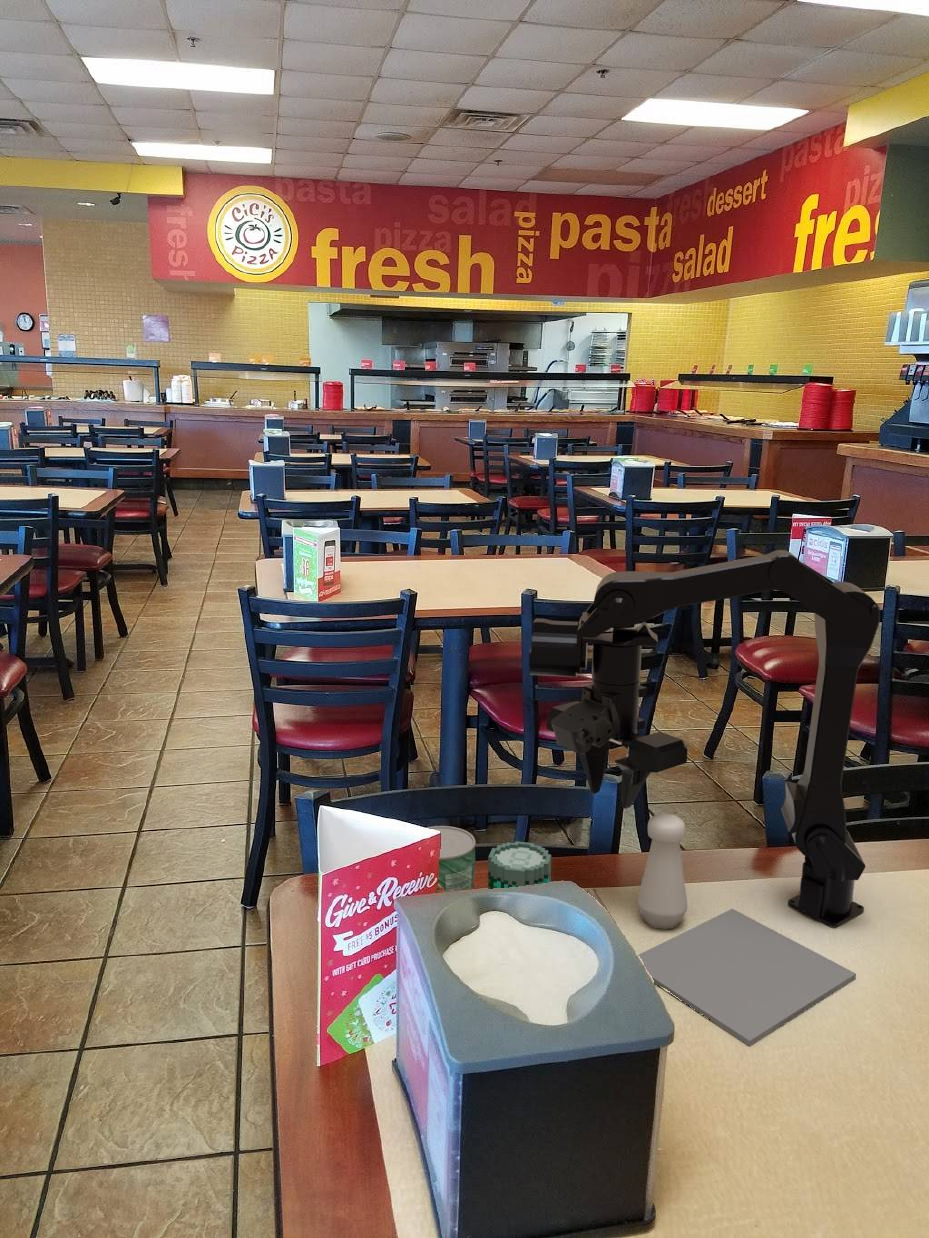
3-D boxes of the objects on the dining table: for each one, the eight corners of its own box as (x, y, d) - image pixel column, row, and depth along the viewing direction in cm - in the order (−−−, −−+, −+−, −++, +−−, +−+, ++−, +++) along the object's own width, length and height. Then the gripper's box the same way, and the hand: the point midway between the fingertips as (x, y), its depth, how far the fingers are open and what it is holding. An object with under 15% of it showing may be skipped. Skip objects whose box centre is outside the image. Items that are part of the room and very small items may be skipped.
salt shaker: (687, 936, 104) (693, 831, 101) (636, 930, 105) (641, 827, 103) (685, 909, 110) (691, 809, 107) (637, 904, 111) (642, 805, 108)
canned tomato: (486, 919, 108) (487, 833, 105) (457, 953, 101) (456, 863, 99) (427, 903, 111) (427, 820, 109) (395, 936, 104) (393, 848, 102)
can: (483, 1000, 93) (484, 866, 90) (495, 966, 99) (496, 839, 95) (542, 1009, 91) (545, 873, 88) (550, 974, 97) (554, 845, 94)
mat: (732, 913, 109) (732, 908, 109) (855, 978, 97) (856, 973, 96) (626, 965, 99) (626, 960, 99) (749, 1046, 86) (749, 1040, 86)
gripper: (514, 671, 111) (512, 790, 115) (624, 711, 97) (618, 846, 100) (580, 658, 118) (577, 770, 121) (694, 693, 103) (686, 820, 107)
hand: (610, 800), depth 112 cm, fingers open, 5 cm apart
